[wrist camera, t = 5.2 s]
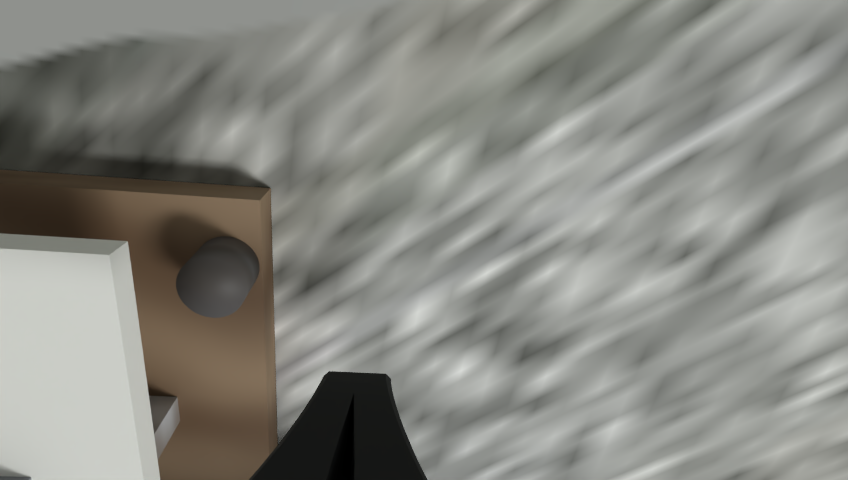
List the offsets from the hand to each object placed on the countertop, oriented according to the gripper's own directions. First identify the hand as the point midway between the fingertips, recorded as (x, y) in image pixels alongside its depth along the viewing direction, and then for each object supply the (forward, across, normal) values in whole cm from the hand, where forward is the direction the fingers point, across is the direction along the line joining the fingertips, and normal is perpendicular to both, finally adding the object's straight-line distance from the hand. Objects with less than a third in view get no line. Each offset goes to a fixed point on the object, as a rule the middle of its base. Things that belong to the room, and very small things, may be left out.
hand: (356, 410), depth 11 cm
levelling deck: (+5, +12, +7) cm, 15 cm away
